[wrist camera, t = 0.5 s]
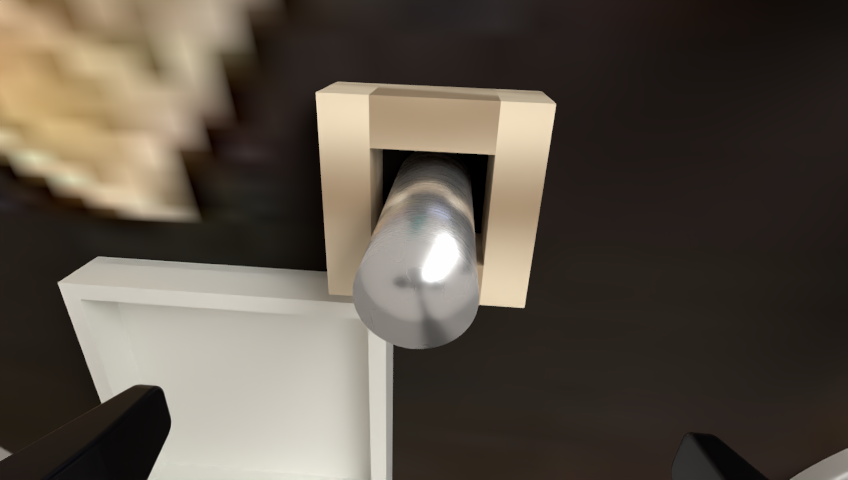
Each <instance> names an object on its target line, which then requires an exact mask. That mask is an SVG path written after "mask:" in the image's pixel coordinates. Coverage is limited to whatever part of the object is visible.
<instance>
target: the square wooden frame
mask: <svg viewBox="0 0 848 480" xmlns="http://www.w3.org/2000/svg"><path fill="white" fill-rule="evenodd" d="M316 105H317V121H318V136H319V152H320V167H321V182H322V198H323V213H324V229H325V244H326V259H327V275H328V290H329V294H330V295H345V296H353V283H354V279H355V276H356V274H357V271H358V269H359V266H360V264H361V261H362V259H363V257H364V254H365V252H366V249H367V247H368V244H369V242H370V239H371V237H372V235H373V232H374V230H375V227H376V225H377V222H378V220H379V217H380V215H381V213H382V210H383V149H395V150H414V151H432V152H451V153H470V154H488V163H487V173H486V183H485V194H484V204H483V214H482V224H481V234H479V233H475V244H476V259H477V273H478V288H479V305H490V306H504V307H519V308H524V307H525V300H526V294H527V288H528V281H529V275H530V269H531V262H532V256H533V249H534V243H535V237H536V230H537V224H538V217H539V211H540V205H541V198H542V192H543V185H544V179H545V173H546V166H547V160H548V153H549V147H550V141H551V134H552V128H553V121H554V115H555V109H556V103H555V102H553V101H552V100H551V99H550V98H549V97H548V96H546V95H545V94H544V93H543V92H542V91H526V90H504V89H483V88H461V87H440V86H418V85H397V84H375V83H353V82H336V83H334V84H332V85H330V86H328V87H326V88H324V89H322V90H320V91H318V92H316Z"/></svg>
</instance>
